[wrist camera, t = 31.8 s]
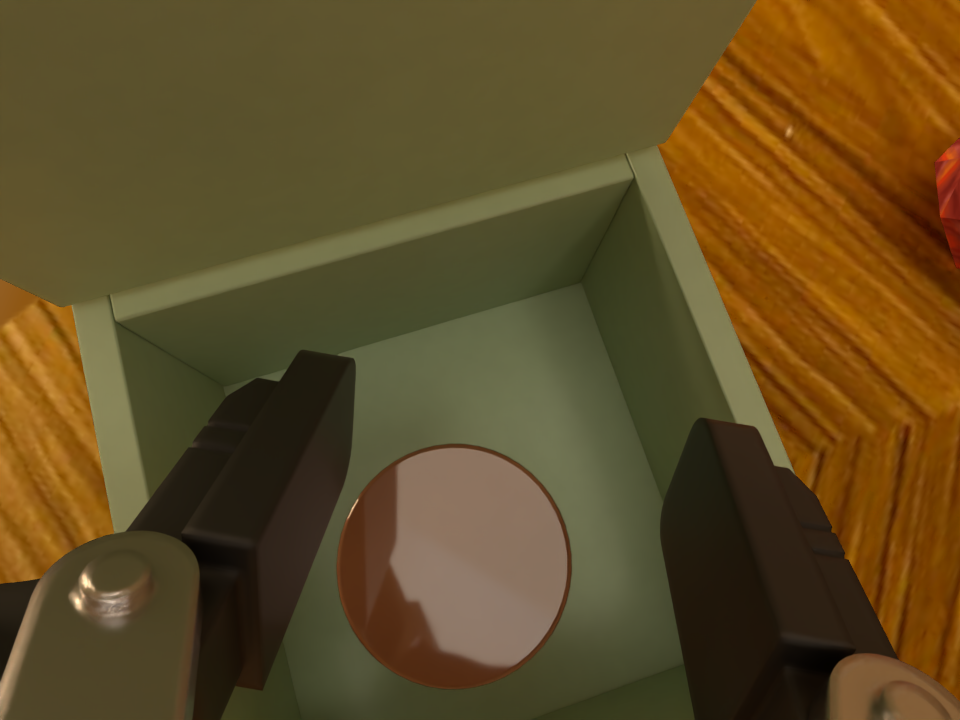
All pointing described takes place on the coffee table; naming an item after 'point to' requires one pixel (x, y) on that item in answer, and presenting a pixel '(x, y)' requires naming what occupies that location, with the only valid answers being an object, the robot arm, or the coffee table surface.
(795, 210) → the coffee table surface
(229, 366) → the chest
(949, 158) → the red faceted ball
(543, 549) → the canister
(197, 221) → the chest lid
